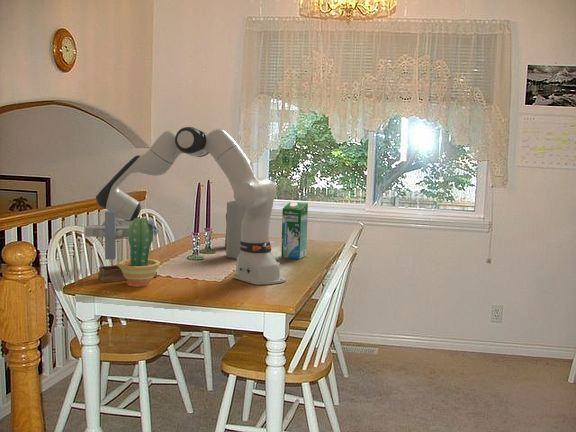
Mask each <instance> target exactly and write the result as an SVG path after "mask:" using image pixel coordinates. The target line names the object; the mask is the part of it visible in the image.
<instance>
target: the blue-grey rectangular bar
mask: <svg viewBox="0 0 576 432" xmlns="http://www.w3.org/2000/svg"><path fill="white" fill-rule="evenodd" d="M104 221H105V237H104V260H116V257H117V255H116V252H117V251H116V249H117V248H116V247H117V245H116V244H117V243H116V241H117V239H116V236H115V231H116V227H115V211H109V210H106V211H105V212H104Z"/></svg>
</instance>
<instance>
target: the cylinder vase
mask: <svg viewBox="0 0 576 432" xmlns="http://www.w3.org/2000/svg"><path fill="white" fill-rule="evenodd" d="M245 211H246V208H245V207H241V206H240V205H238V204H237V203H236V201H235V200H231V201H230V200H229V201H227V202H226V213H227V228H226V227H225V239H226V247H225V249H226V251H225V254H226V255H225V256H226V257H227V258H230V259H236V260H237V257H238V255H239V254H240V252H241V250H240V241H241V230H242V219H243V218H244V215H245Z"/></svg>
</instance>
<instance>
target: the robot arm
mask: <svg viewBox="0 0 576 432" xmlns="http://www.w3.org/2000/svg"><path fill="white" fill-rule="evenodd" d="M181 154H186V155H188V156H191V157H196V158H202V157H206V156H208V155H210V156H211V157H213V159H214V160H215V162H216V163H217V165H218V166H219V167H220V169H221V171H222V172H223V173H224V174H225V176H226V178H227V179H228V182H229V183H230V184H229V185H230V186H231V189H232V190H233V198H234V201H236V203H237V204H238V205H240V206H241V207H245V208H246V211H245V215H244V218H243V219H242V230H241V241H240V250H241V252H240V254H239V255H238V257H237V259H236V265H235V266H236V268H235V273H234V274H232V279H237V280H239V281H241V282H246V283H248V284H249V283H250V284H252V285H261V286H262V285H274V284H281V283H285V282H286V281H287V279H286V278H285V277H284V276H283V275H281V273H280V272H281V271H280V269H281V263H280V262H278V261H277V260H276V258H275V256H274V254H273V253H272V245H271V241H270V222H271V221H270V220H271V216H272V211H273V208H274V207H273V205H274V201H275V198H276V197H277V193H278V191H277V186H276V184H275V183H274V181H272V180H270V179H268V178H265V177H259V178H258V177H257V176H256V175H255V172H254V170H253V168H252V165H251V161H250V159H249V157H248V156H247V155H246V153H245V152H244V151H243V149H242V148H241V147H240V145H239V144H238V142H237V141H236V140H235V139H234V137H232V136H231V135H230V133H228V132H227V131H226V130H225V129H223V128H216V129H213V130H211V131H210V132H205V131H203V130H201V129H200V128H195V127H194V126H186V127H185V126H184V127H182V128H181V129H179V130H178V131H176V132H175V131H174V130H173V131H172V130H166V131H164V132H162V134H161V135H159V136H158V138H157V139H156V140H155V141H154V142H153V143H152V145H151V146H150V147H149V149H148V150H147V151H146V152H145V153H144V154H141V155H135V156H134V157H132V158H131V159H130V160H128V162H127V163H126V164H124V166H123V167H122V168H121V169H120V170H119V171H118V172H117V173H116V174H114V176H113V177H112V178H111V179H110V180H109V181H108V182H106V183H105V184H104V185H102V186H101V187H100V188H99V189H98V191H97V193H96V196H95V200H96V203H97V205H98V206H99V207H101V208H103V209H105V210H106V211H115V227H116V231H115V236H116V240H120V239H123V238H125V239H126V238H128V228H129V226H130V224H131V223H132V221H133V220H134V219H135V218H136V219H137V217H139V215H140V213H141V207H142V206H141V203H140V201H139V200H137V199H135V198H134V197H132V196H130V195H129V194H127V193H126V192H124V191H123V190H121V189H120V188H119V187H120V185H122V184H123V182H124V181H125V180H126V179H127V178H128V177H129V176H130V175H131V174H135V173H140V174H144V175H148V176H153V177H154V176H158V177H159V176H162V175H165V174H166V173H167V172H168V171H169V170H170V169H171V168H172V167H173V165H174V164H175V161H176V160H177V159H178V157H180V155H181ZM84 237H89V238H91V237H95V238H97V237H104V238H105V220H104V221H103V223H102V224H89V225H86V226H84Z"/></svg>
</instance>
